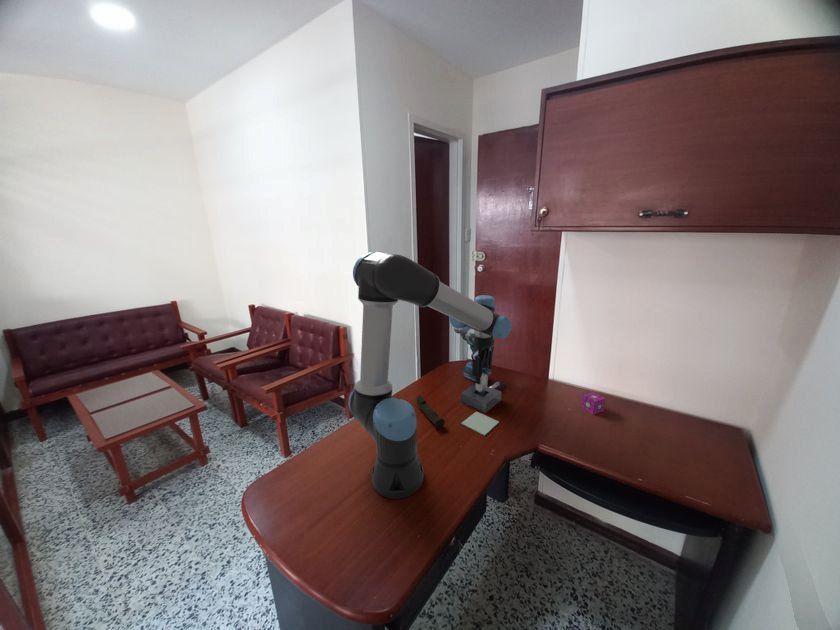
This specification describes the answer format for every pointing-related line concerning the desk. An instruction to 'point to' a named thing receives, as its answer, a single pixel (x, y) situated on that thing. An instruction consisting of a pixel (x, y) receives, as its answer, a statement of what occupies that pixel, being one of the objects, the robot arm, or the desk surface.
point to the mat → (480, 423)
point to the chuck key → (484, 381)
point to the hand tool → (430, 413)
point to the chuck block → (478, 401)
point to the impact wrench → (469, 337)
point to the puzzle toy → (593, 403)
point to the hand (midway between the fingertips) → (481, 388)
